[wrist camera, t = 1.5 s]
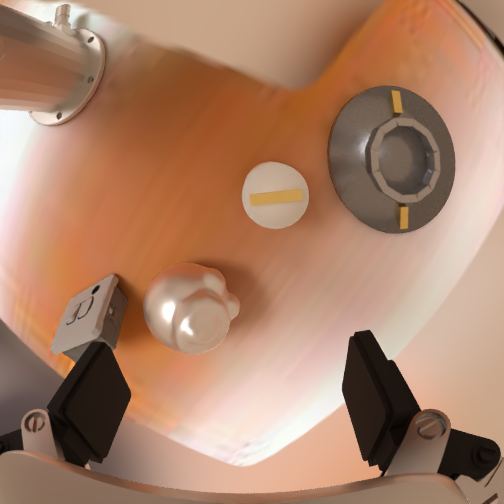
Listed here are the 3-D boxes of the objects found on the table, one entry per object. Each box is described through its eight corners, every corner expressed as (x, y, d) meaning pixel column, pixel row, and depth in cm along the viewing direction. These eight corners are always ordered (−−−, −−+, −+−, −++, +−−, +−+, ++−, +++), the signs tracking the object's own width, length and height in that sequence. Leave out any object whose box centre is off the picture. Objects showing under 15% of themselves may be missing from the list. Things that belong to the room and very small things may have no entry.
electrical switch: (116, 270, 30) (82, 317, 22) (141, 303, 32) (116, 356, 24) (71, 296, 32) (38, 340, 23) (94, 325, 34) (67, 371, 25)
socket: (318, 84, 24) (324, 78, 21) (443, 95, 23) (455, 93, 20) (332, 237, 29) (339, 245, 26) (449, 225, 28) (461, 230, 26)
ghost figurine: (233, 327, 33) (227, 388, 23) (156, 311, 32) (127, 365, 23) (248, 258, 30) (245, 307, 20) (161, 241, 29) (123, 281, 20)
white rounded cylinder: (241, 164, 26) (237, 167, 19) (292, 158, 26) (307, 160, 19) (248, 213, 28) (246, 234, 21) (297, 208, 28) (312, 227, 21)
